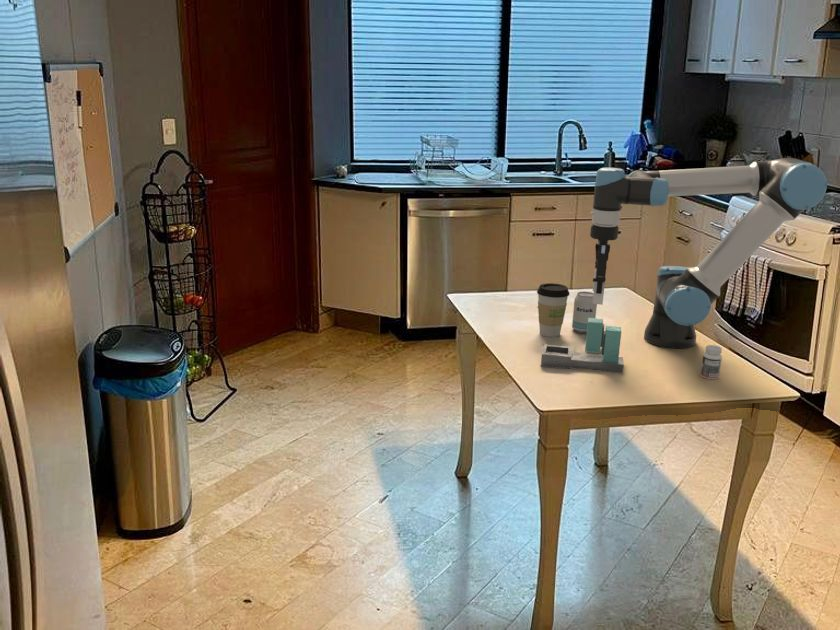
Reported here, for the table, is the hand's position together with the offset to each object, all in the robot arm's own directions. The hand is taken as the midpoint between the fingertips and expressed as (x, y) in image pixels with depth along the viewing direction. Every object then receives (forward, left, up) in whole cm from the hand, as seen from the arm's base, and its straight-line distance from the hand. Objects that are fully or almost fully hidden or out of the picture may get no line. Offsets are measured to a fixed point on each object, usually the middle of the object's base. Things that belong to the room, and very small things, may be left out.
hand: (597, 297), depth 228 cm
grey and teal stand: (+3, +14, -16) cm, 21 cm away
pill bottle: (-31, +13, -16) cm, 37 cm away
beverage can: (+3, -17, -16) cm, 24 cm away
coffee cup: (+13, -11, -16) cm, 23 cm away
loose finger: (0, 0, -16) cm, 16 cm away
